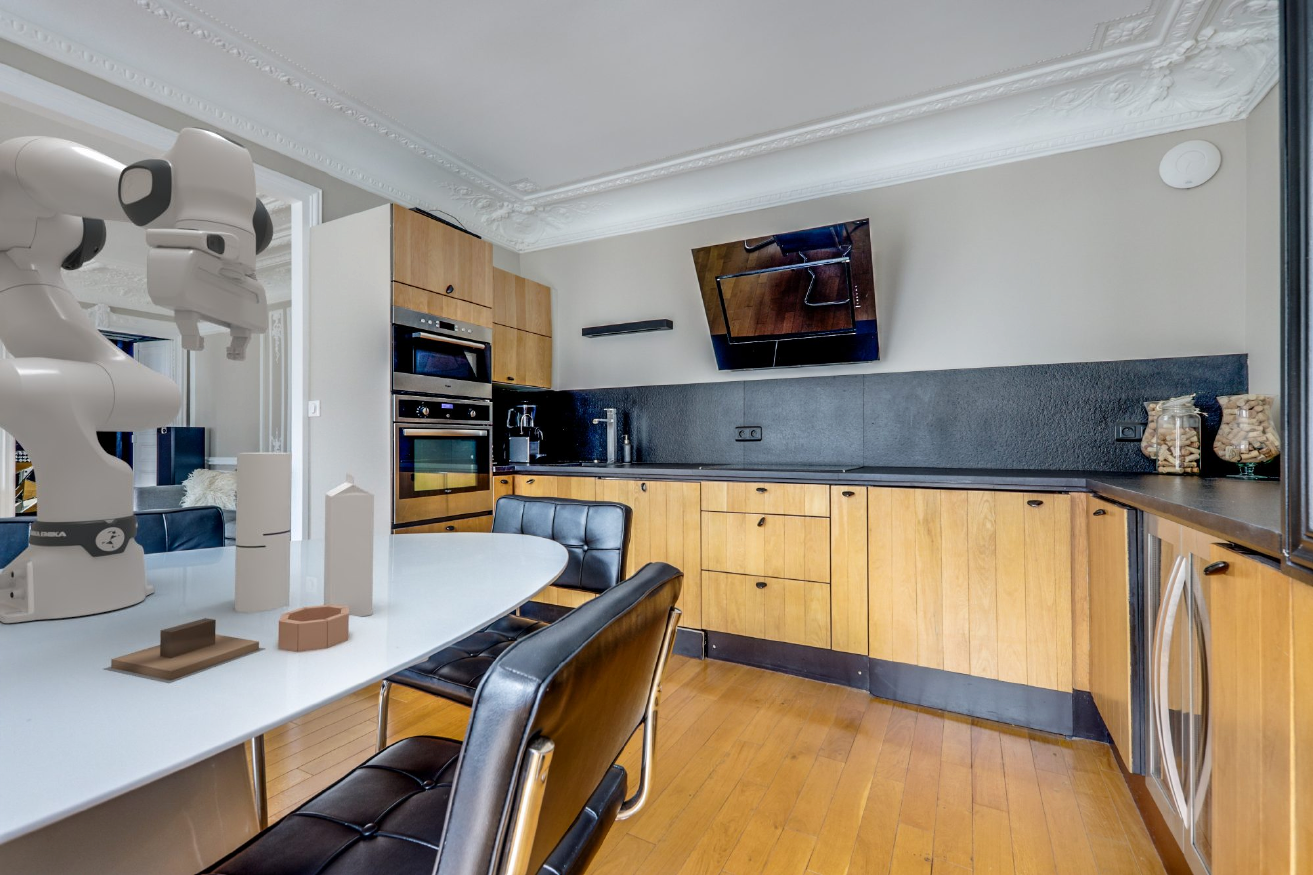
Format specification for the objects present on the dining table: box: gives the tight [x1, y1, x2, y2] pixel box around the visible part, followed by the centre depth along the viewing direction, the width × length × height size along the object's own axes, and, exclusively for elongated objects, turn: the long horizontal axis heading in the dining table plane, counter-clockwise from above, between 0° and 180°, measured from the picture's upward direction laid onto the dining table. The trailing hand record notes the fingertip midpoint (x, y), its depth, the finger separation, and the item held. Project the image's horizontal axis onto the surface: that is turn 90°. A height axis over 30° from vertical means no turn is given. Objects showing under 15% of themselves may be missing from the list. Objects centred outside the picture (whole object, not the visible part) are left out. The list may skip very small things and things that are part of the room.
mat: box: [103, 647, 266, 684], centre depth 70 cm, size 11×11×1 cm
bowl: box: [277, 604, 350, 653], centre depth 77 cm, size 8×8×5 cm
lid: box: [110, 617, 260, 680], centre depth 70 cm, size 10×10×4 cm
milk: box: [323, 472, 375, 618], centre depth 92 cm, size 6×6×22 cm
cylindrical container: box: [234, 452, 293, 613], centre depth 92 cm, size 7×7×25 cm
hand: (215, 355), depth 79 cm, fingers open, 8 cm apart
